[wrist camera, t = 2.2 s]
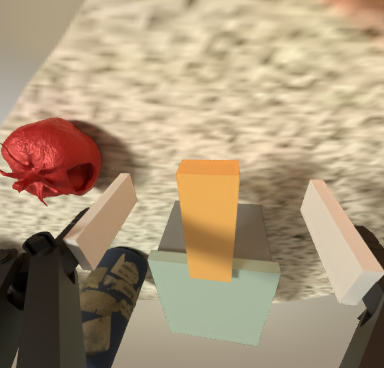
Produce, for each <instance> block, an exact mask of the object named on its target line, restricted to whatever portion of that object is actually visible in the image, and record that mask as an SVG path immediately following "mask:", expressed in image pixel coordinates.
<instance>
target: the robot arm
mask: <svg viewBox="0 0 384 368" xmlns="http://www.w3.org/2000/svg"><path fill="white" fill-rule="evenodd" d="M137 201H138V200H137V197H136V193H135V190H134V187H133V183H132V180H131V176H130V173H121V174H120V175H119V176H118V177H117V178H116V179H115V180H114V182H113V183H112V184H111V185H110V186H109V187H108V188H107V189H106V191H105V192H104V193H103V194H102V195H101V196H100V197H99V199H98V200H97V201H96V202H95V203H94V204H93V205H92V206H91V208H86V209H84V210H83V211H81V212H80V213H79V214H78V215H77V216H76V217H75V219H73V221H72V222H71V223H70V224H69V225H68V226H67V227H66V228H65V229H64V230H63V231H62V233H61V234H60V235H59V236H58V237H57V238H56V239H54V237H53V236H52V235H51V233H50V232H40V233H37V234H35V235H32V236H31V237H30V238H28V239H27V240H26V241H25V242H24V243H23V246H22V248H23V249H24V250H25V251H26V252H27V253H23V254H21V253H20V252H19V251H18V250H17V249H14V248H13V249H8V250H5V251H2V250H0V368H11V367H12V364H13V361H14V358H15V356H16V353H17V350H18V347H19V350H18V357H17V366H16V368H87V365H86V355H85V345H84V335H83V325H82V315H81V306H80V296H79V286H78V276H77V271H76V269H75V268H76V267H77V265H78V264H79V265H80V266H81V268H82V269H84V270H91V271H94V270H95V268H96V267H97V265H98V264H99V262H100V260H101V259H102V257H103V256H104V254H105V252H106V251H107V249H108V247H109V246H110V244H111V243H112V241H113V239H114V238H115V236H116V235H117V233H118V231H119V230H120V228H121V226H122V225H123V223H124V222H125V220H126V218H127V217H128V215H129V213H130V212H131V210H132V209H133V207H134V205H135V204H136V202H137ZM300 211H301V213H302V216H303V218H304V220H305V223H306V225H307V228H308V230H309V232H310V235H311V237H312V240H313V242H314V245H315V247H316V249H317V252H318V254H319V257H320V259H321V262H322V264H323V266H324V269H325V271H326V274H327V276H328V278H329V281H330V283H331V286H332V288H333V291H334V293H335V295H336V298H337V300H338V303H341V304H348V305H355V306H356V305H358V303H360V301H361V300H363V302H364V304H365V306H366V307H367V309H366V310H365V311H364V312H363V313H362V314H361V315H360V316H359V317H358V318H357V319H359V320H360V321H359V324H358V326H357V328H356V331H355V333H354V335H353V337H352V340H351V342H350V344H349V347H348V349H347V351H346V353H345V356H344V358H343V360H342V363H341V365H340V367H339V368H384V248H383V246H382V245H381V244H379V241H378V240H377V238H376V237H375V236H374V234H373V233H371V232H370V231H369V230H368V229H366V228H365V227H364V226H356V225H353V224H352V222H351V221H350V220H349V218H348V217H347V215H346V214H345V212H344V211H343V209H342V208H341V206H340V205H339V203H338V202H337V200H336V199H335V197H334V196H333V194H332V193H331V191H330V190H329V188H328V187H327V185H326V184H325V182H324V181H323V180H311V179H310V182H309V185H308V188H307V191H306V194H305V197H304V200H303V203H302V206H301V209H300Z"/></svg>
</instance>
